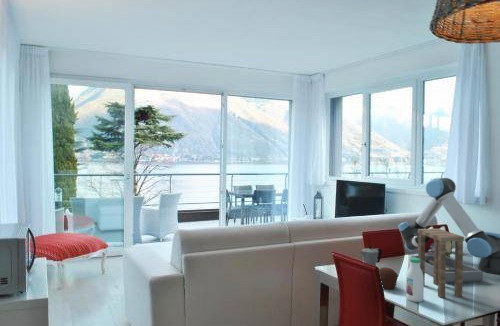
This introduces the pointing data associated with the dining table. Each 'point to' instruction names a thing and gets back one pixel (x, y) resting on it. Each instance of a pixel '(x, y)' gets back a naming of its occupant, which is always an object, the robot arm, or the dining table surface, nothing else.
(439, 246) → the stool
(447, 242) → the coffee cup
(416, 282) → the milk bottle
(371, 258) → the coffeepot
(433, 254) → the passion flower
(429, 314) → the dining table surface
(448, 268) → the hand shovel
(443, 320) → the dining table surface
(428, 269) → the tray
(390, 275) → the muffin
